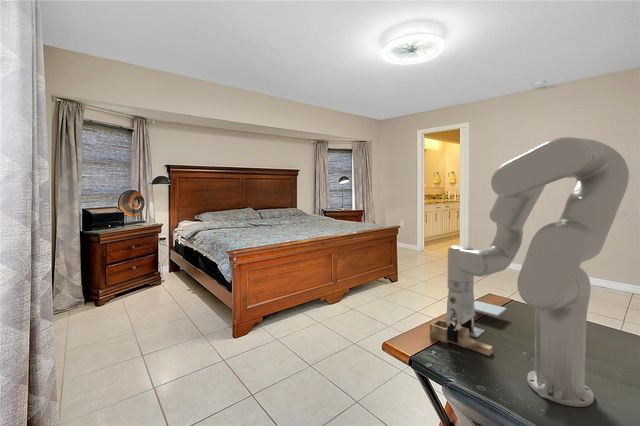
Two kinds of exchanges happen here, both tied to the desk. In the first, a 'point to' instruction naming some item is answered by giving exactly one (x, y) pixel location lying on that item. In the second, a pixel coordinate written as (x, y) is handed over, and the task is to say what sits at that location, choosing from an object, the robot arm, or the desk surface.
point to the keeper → (488, 308)
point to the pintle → (475, 330)
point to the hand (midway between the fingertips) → (459, 335)
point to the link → (440, 333)
